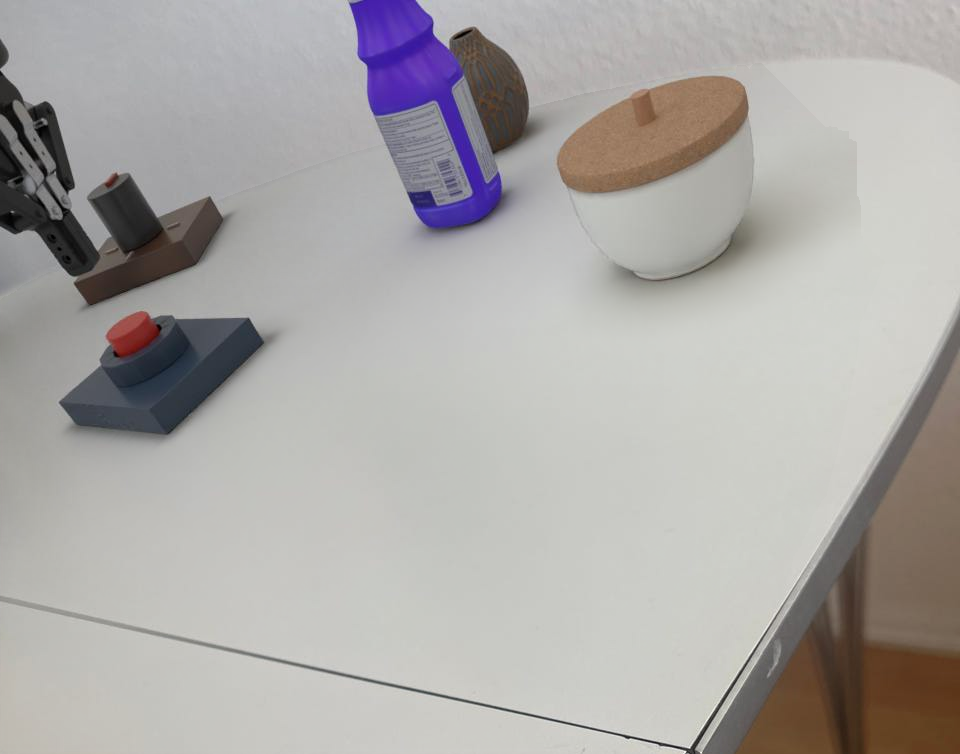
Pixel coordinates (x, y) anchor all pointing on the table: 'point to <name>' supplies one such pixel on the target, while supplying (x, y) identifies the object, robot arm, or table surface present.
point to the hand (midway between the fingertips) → (86, 268)
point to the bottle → (425, 114)
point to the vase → (492, 86)
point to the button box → (162, 375)
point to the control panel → (152, 253)
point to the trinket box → (663, 175)
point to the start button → (132, 333)
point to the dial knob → (125, 212)
